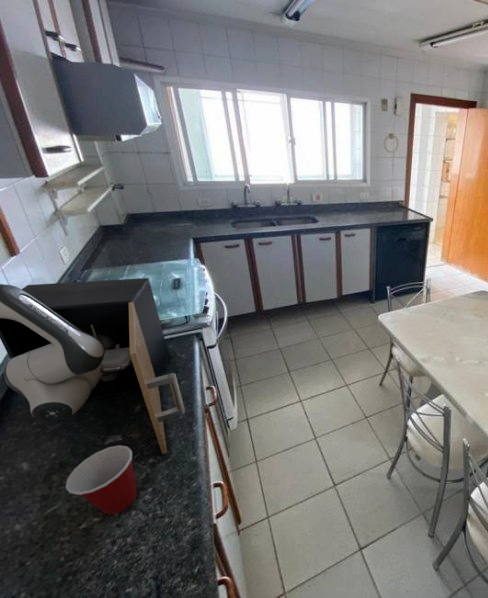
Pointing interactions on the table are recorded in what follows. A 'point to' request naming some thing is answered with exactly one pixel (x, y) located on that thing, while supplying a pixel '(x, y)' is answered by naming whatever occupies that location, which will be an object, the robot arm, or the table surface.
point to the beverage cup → (107, 346)
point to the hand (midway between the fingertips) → (100, 347)
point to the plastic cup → (106, 479)
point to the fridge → (96, 322)
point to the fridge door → (151, 380)
